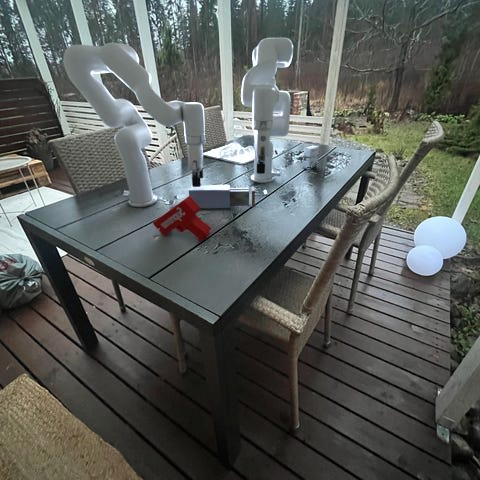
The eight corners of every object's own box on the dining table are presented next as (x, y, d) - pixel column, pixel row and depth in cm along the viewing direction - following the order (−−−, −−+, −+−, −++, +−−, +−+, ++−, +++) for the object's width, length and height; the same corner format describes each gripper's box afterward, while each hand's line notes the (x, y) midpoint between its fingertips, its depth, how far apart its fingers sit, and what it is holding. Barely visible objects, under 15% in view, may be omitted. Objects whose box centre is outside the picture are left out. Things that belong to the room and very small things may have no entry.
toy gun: (217, 229, 94) (190, 194, 90) (212, 235, 91) (184, 199, 87) (184, 248, 104) (159, 217, 100) (179, 254, 101) (152, 223, 97)
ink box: (309, 164, 167) (312, 144, 161) (316, 166, 164) (319, 146, 158) (301, 167, 162) (304, 147, 156) (308, 169, 159) (311, 148, 153)
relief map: (243, 164, 168) (243, 156, 165) (202, 155, 186) (201, 147, 183) (266, 154, 186) (267, 146, 183) (227, 147, 204) (226, 140, 201)
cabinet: (230, 203, 121) (229, 184, 116) (230, 209, 116) (229, 189, 111) (192, 204, 120) (190, 185, 116) (190, 210, 116) (188, 190, 111)
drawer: (266, 202, 120) (267, 186, 116) (267, 206, 116) (268, 191, 112) (218, 202, 120) (217, 187, 116) (217, 207, 116) (217, 191, 112)
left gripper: (188, 134, 110) (191, 174, 119) (181, 144, 95) (185, 190, 105) (207, 134, 110) (208, 175, 119) (202, 145, 96) (205, 190, 105)
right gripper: (274, 128, 94) (271, 179, 104) (270, 121, 107) (268, 167, 117) (253, 128, 94) (252, 179, 104) (251, 121, 107) (250, 167, 117)
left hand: (198, 182), depth 112 cm, fingers open, 9 cm apart
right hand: (260, 172), depth 110 cm, fingers closed
